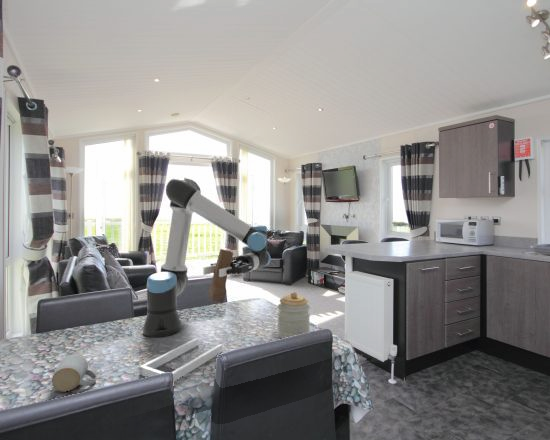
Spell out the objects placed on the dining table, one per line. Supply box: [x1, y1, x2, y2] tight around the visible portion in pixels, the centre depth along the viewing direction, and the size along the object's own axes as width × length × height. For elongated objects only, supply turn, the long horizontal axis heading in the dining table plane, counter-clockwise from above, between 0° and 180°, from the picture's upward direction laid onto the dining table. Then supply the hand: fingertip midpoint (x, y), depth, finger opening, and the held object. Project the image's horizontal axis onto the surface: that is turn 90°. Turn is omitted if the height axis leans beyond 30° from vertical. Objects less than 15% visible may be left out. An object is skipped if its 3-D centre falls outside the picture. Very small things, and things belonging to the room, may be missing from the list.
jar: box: [277, 291, 311, 339], centre depth 132 cm, size 13×13×18 cm
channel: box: [139, 337, 223, 383], centre depth 109 cm, size 12×25×2 cm, turn 151°
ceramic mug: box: [51, 354, 98, 393], centre depth 95 cm, size 11×8×8 cm
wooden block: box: [208, 248, 234, 303], centre depth 123 cm, size 9×4×18 cm, turn 19°
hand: (212, 272), depth 120 cm, fingers closed on wooden block, 7 cm apart
